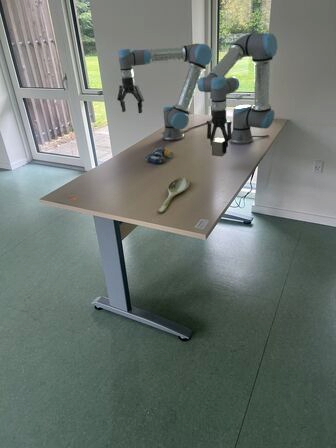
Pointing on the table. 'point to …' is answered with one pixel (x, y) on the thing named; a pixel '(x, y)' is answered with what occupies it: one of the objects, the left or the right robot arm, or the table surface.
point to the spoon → (175, 190)
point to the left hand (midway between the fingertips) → (132, 112)
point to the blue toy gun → (159, 155)
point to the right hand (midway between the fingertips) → (219, 151)
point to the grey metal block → (218, 147)
